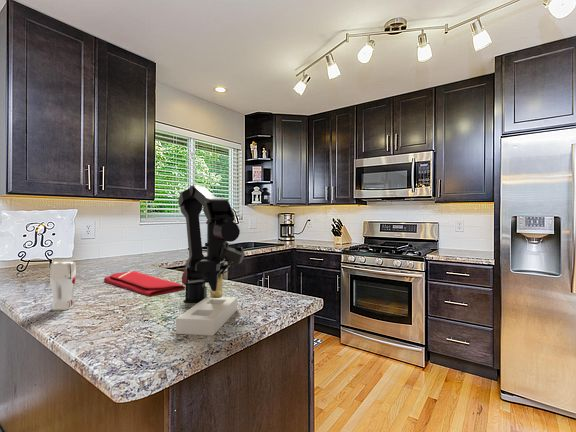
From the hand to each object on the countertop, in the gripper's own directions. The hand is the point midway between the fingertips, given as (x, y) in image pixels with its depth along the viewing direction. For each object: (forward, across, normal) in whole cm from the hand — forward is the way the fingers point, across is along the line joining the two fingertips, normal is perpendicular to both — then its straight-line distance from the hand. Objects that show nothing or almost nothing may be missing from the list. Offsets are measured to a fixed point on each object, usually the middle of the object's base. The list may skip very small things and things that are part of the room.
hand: (216, 289), depth 98 cm
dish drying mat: (+9, +34, +46) cm, 58 cm away
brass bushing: (+2, 0, 0) cm, 2 cm away
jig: (+8, -6, 0) cm, 10 cm away
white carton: (+8, -1, +52) cm, 53 cm away
